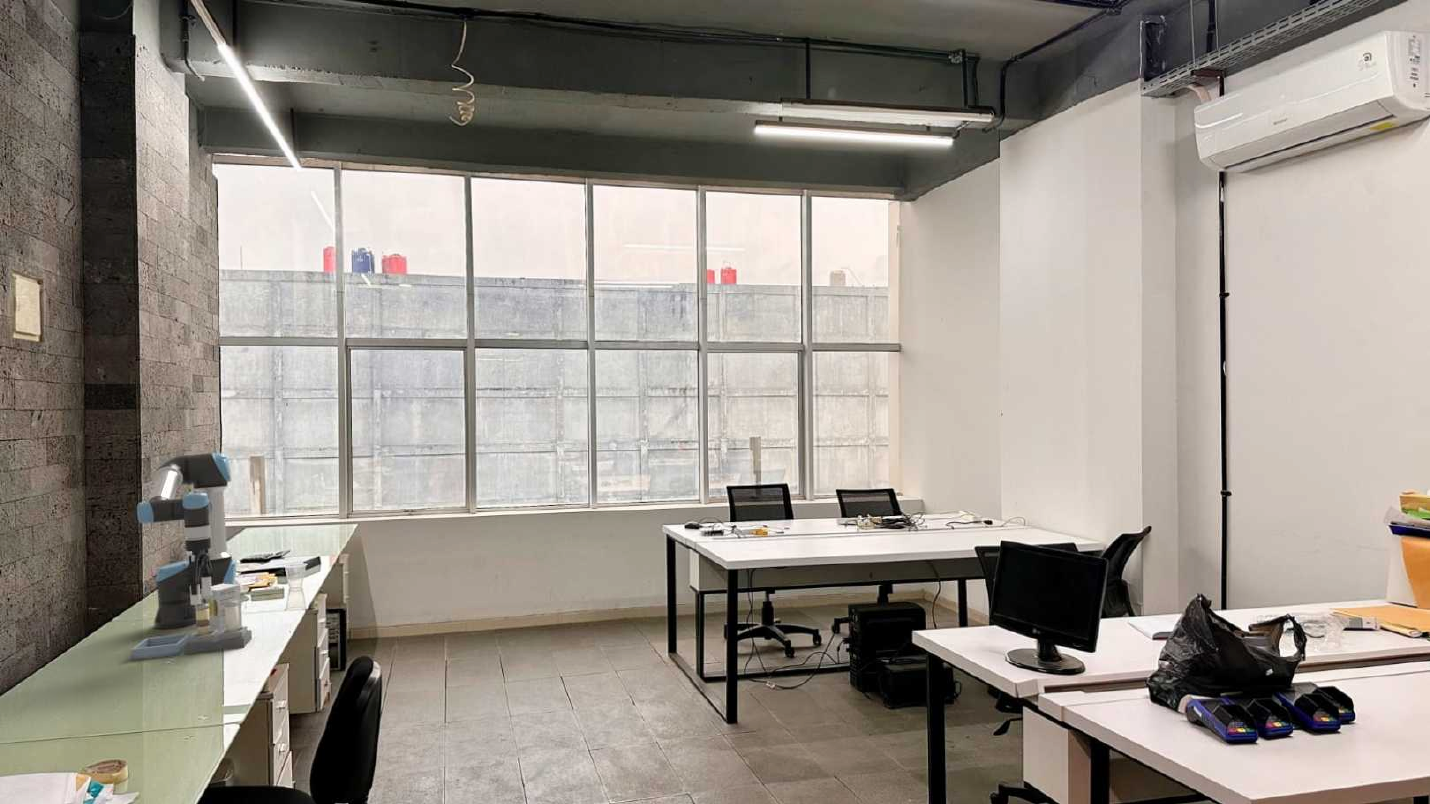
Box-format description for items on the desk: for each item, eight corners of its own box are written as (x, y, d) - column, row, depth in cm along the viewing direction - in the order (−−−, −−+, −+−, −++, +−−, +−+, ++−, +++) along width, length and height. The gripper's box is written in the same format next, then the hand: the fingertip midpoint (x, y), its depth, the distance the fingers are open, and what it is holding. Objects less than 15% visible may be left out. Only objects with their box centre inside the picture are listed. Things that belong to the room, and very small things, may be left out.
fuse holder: (194, 645, 305) (192, 602, 304) (251, 638, 310) (249, 596, 309) (185, 654, 294) (182, 610, 294) (244, 647, 299) (241, 603, 299)
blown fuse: (199, 638, 302) (197, 604, 302) (212, 636, 303) (210, 602, 303) (195, 641, 298) (193, 606, 298) (209, 640, 299) (207, 605, 299)
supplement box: (202, 634, 319) (199, 588, 318) (224, 627, 327) (222, 583, 327) (220, 636, 315) (217, 590, 315) (243, 629, 324) (240, 584, 323)
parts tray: (146, 648, 304) (145, 638, 304) (191, 643, 308) (190, 633, 308) (131, 660, 290) (130, 649, 290) (178, 654, 294) (178, 644, 294)
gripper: (196, 534, 311) (200, 593, 311) (173, 545, 287) (177, 609, 287) (219, 532, 313) (223, 591, 313) (199, 542, 289) (203, 606, 289)
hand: (201, 599), depth 300 cm, fingers open, 13 cm apart
